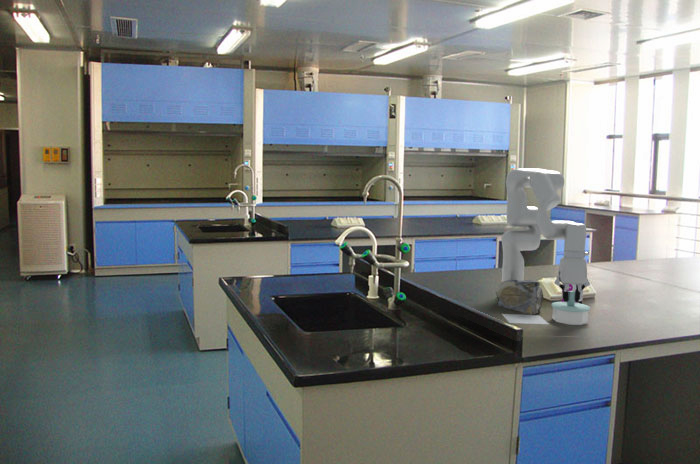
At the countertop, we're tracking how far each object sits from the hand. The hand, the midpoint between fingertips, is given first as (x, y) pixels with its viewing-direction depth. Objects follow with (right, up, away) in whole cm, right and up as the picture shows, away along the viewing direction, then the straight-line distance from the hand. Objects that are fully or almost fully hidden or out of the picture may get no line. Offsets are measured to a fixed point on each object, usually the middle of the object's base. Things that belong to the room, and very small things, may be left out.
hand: (570, 300), depth 226 cm
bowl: (0, -8, +1) cm, 8 cm away
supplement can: (+6, -7, +17) cm, 19 cm away
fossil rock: (-15, -6, +20) cm, 25 cm away
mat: (-18, -8, +1) cm, 19 cm away
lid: (0, -3, 0) cm, 3 cm away
